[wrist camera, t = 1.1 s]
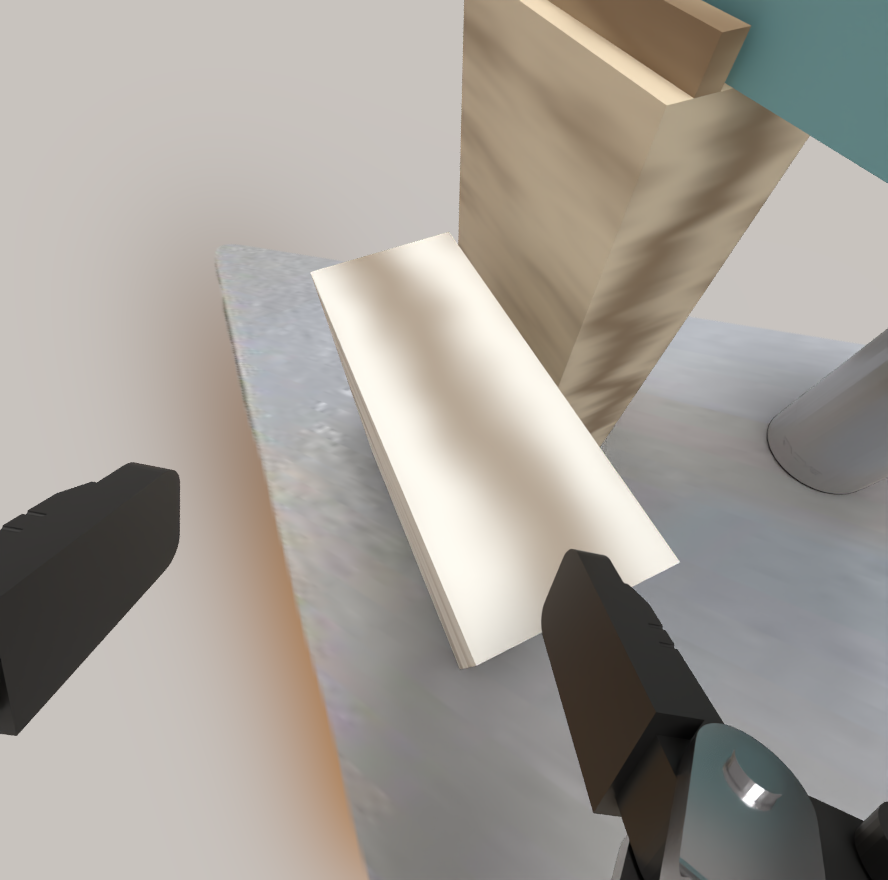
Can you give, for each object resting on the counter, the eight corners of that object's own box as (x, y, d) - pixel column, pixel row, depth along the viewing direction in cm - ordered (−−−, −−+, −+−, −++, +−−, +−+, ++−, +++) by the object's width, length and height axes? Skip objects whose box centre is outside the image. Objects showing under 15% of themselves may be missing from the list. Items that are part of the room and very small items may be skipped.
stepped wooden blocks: (521, 352, 47) (629, -114, 19) (666, 565, 35) (1434, 188, 8) (356, 412, 43) (191, -55, 15) (459, 669, 32) (536, 651, 4)
